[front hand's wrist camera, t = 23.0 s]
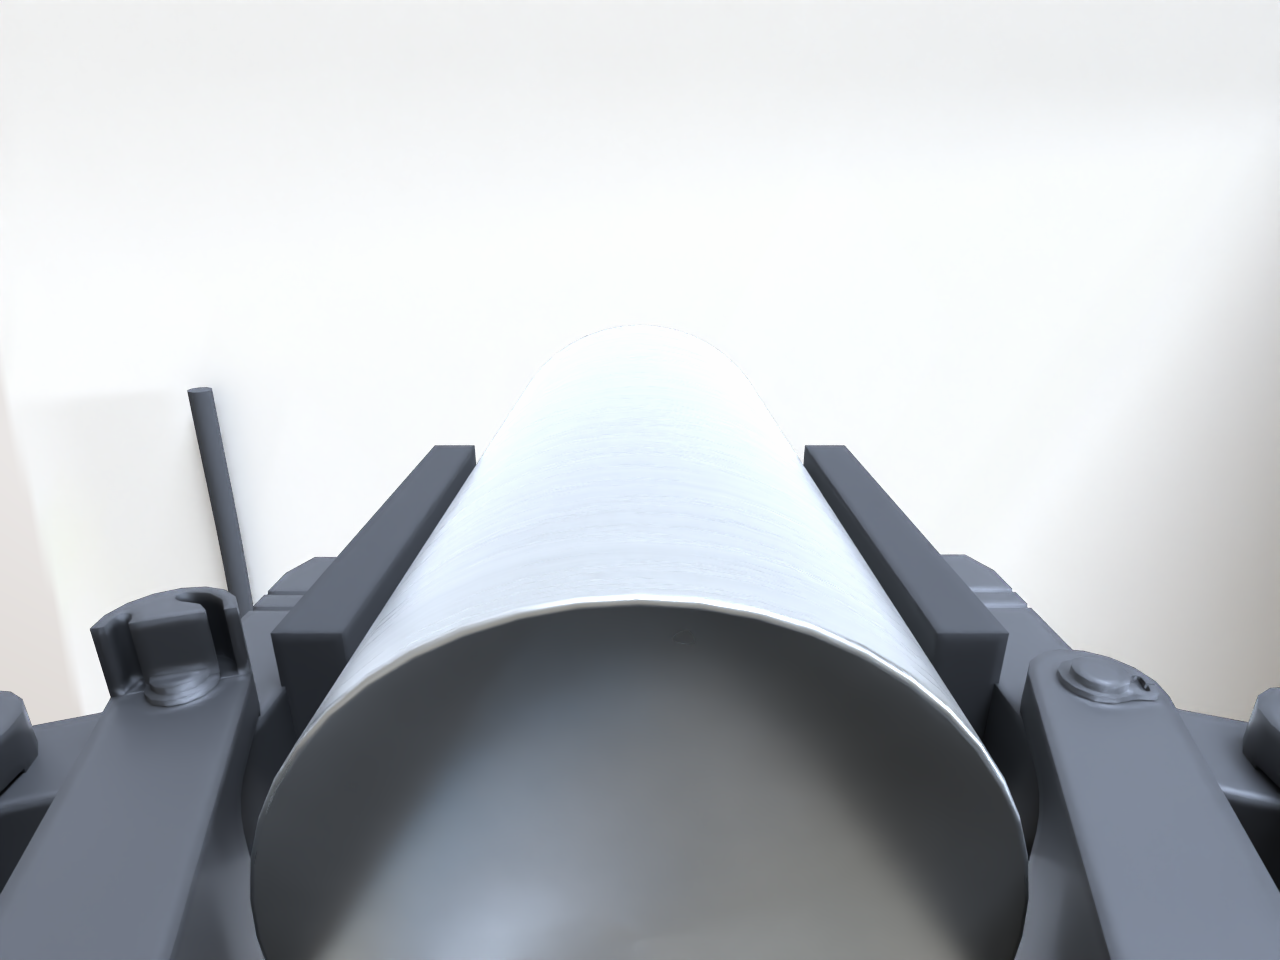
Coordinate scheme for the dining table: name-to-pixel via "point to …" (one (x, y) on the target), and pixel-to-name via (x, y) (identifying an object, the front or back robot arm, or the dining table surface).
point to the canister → (639, 713)
